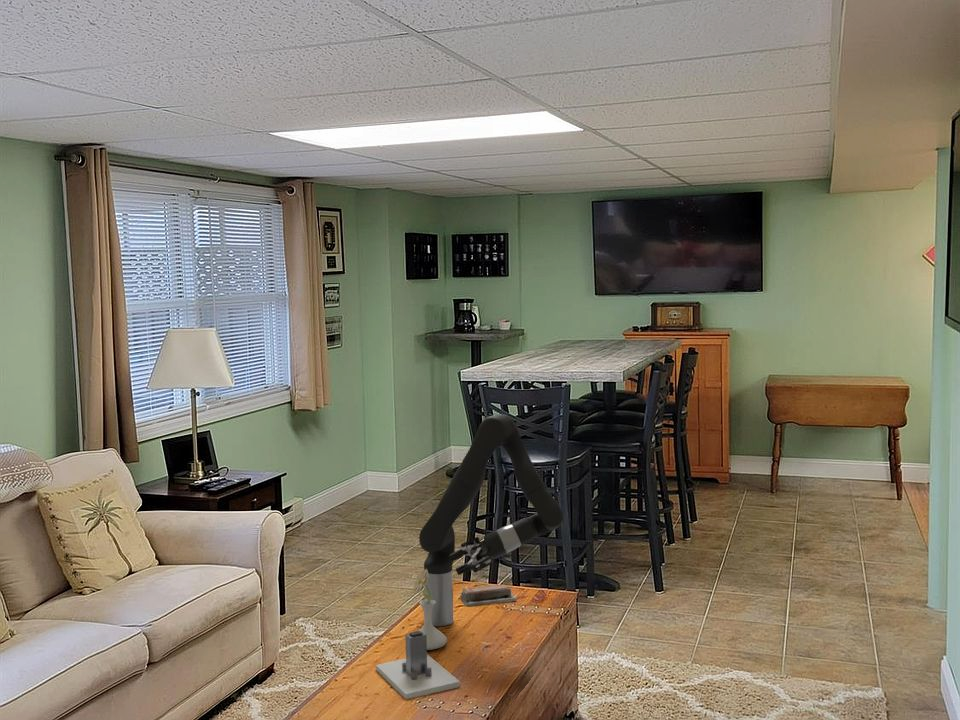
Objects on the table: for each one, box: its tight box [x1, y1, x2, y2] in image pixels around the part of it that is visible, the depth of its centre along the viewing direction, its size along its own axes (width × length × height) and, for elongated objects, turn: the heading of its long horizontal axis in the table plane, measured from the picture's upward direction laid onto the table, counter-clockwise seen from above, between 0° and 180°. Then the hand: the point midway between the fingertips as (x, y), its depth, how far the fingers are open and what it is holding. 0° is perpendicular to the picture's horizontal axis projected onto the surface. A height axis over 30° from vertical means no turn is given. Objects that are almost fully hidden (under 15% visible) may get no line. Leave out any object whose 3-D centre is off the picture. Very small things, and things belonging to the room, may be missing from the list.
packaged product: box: [459, 584, 517, 607], centre depth 329 cm, size 18×5×10 cm
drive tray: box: [375, 654, 461, 700], centre depth 264 cm, size 22×16×4 cm
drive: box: [404, 630, 428, 676], centre depth 264 cm, size 3×5×12 cm, turn 118°
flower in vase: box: [412, 568, 448, 651], centre depth 286 cm, size 13×11×25 cm
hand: (453, 565), depth 281 cm, fingers open, 8 cm apart
